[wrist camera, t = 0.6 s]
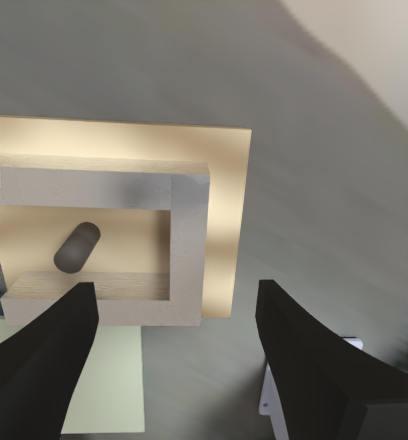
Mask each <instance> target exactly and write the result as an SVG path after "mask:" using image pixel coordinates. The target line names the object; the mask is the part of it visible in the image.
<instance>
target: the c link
mask: <svg viewBox="0 0 408 440" xmlns="http://www.w3.org/2000/svg"><path fill="white" fill-rule="evenodd" d="M209 189H210V172H209V168H208V165H207V162H192V161H169V160H146V159H122V158H99V157H76V156H53V155H30V154H7V153H0V205H25V206H56V207H88V208H119V209H151V210H171V238H170V273H129V272H77V273H73V274H69V273H65V272H62V271H24V273H23V274H22V275H21V276H20V277H19V278H18V279H17V280H16V282H15V283H14V284H13V285H12V286H11V287H10V288H9V289H8V291H7V292H6V293H5V294H4V295H3V296H2V297H1V298H0V301H1V304H2V308H3V312H4V316H5V319H6V323H7V325H27V324H29V323H30V322H31V321H33V320H34V319H35V318H37V317H38V316H39V315H40V314H42V313H43V312H44V311H46V310H47V309H48V308H49V307H50V306H52V305H53V304H54V303H55V302H56V301H58V300H59V299H60V298H61V297H62V296H63V295H65V294H66V293H67V292H68V291H69V290H70V289H72V288H73V287H74V286H75V285H76V284H78V283H79V282H94V287H95V294H96V300H97V307H98V314H99V323H98V326H201V312H202V297H203V281H204V266H205V250H206V235H207V220H208V204H209Z"/></svg>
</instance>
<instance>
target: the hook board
mask: <svg viewBox="0 0 408 440" xmlns="http://www.w3.org/2000/svg"><path fill="white" fill-rule="evenodd" d="M250 139H251V129H249V128H246V127H226V126H207V125H188V124H168V123H149V122H130V121H111V120H91V119H72V118H53V117H33V116H14V115H0V153H7V154H30V155H53V156H76V157H99V158H122V159H146V160H169V161H192V162H207V165H208V168H209V172H210V189H209V204H208V220H207V235H206V250H205V266H204V281H203V297H202V312H201V318H230V314H231V305H232V296H233V288H234V279H235V270H236V261H237V253H238V244H239V235H240V226H241V218H242V209H243V200H244V191H245V183H246V174H247V165H248V156H249V148H250ZM170 238H171V210H151V209H119V208H88V207H56V206H25V205H0V263H1V267H2V271H3V275H4V279H5V283H6V287H7V291H8V289H9V288H10V287H11V286H12V285H13V284H14V283H15V282H16V280H17V279H18V278H19V277H20V276H21V275H22V274H23V273H24V271H62V272H65V273H69V274H73V273H77V272H129V273H170Z"/></svg>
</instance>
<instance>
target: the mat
mask: <svg viewBox="0 0 408 440" xmlns="http://www.w3.org/2000/svg"><path fill="white" fill-rule="evenodd" d="M25 326H26V325H7V323H6V319H5V316H0V343H1V342H3V341H4V340H6V339H7V338H9V337H11V336H12V335H13V334H15V333H16V332H18V331H19V330H21V329H22V328H23V327H25ZM144 431H145V416H144V389H143V362H142V336H141V326H98V327H97V331H96V335H95V339H94V342H93V345H92V348H91V350H90V353H89V355H88V358H87V360H86V363H85V365H84V368H83V370H82V373H81V375H80V378H79V380H78V383H77V385H76V388H75V390H74V393H73V395H72V398H71V401H70V404H69V407H68V411H67V414H66V418H65V421H64V424H63V428H62V431H61V434H66V433H117V432H144Z"/></svg>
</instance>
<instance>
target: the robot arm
mask: <svg viewBox="0 0 408 440" xmlns="http://www.w3.org/2000/svg"><path fill="white" fill-rule="evenodd" d="M255 318H256V323H257V328H258V333H259V337H260V340H261V343H262V346H263V349H264V352H265V355H266V358H267V361H268V362H267V367H266V372H265V377H264V383H263V388H262V393H261V398H260V403H259V413H260V414H261V415H270V418H271V422H272V426H273V430H274V434H275V438H276V440H408V374H407V373H405V372H403V371H400V370H398V369H396V368H394V367H392V366H390V365H388V364H386V363H384V362H382V361H380V360H378V359H376V358H374V357H373V356H371V355H369V354H367V353H365V352H364V351H362V350H361V349H362V346H363V343H362V341H361V340H360V339H357V338H341V337H340V336H338V335H337V334H335V333H334V332H332V331H331V330H330V329H328V328H327V327H326V326H324V325H323V324H322V323H320V322H319V321H318V320H317V319H315V318H314V317H313V316H312V315H310V314H309V313H308V312H307V311H306V310H305V309H304V308H302V307H301V306H300V305H299V304H298V303H297V302H296V301H295V300H294V299H293V298H292V297H291V296H289V295H288V294H287V293H286V292H285V291H284V290H283V289H282V288H281V287H280V286H279V285H278V284H277V283H276V282H275V281H274V280H259V288H258V296H257V305H256V314H255ZM98 323H99V314H98V307H97V300H96V294H95V287H94V282H79V283H78V284H76V285H75V286H74V287H73V288H72V289H70V290H69V291H68V292H67V293H66V294H65V295H63V296H62V297H61V298H60V299H59V300H58V301H56V302H55V303H54V304H53V305H52V306H50V307H49V308H48V309H47V310H46V311H44V312H43V313H42V314H40V315H39V316H38V317H37V318H35V319H34V320H33V321H31V322H30V323H29V324H27V325H26V326H25V327H23V328H22V329H21V330H19V331H18V332H16V333H15V334H13V335H12V336H11V337H9V338H7V339H6V340H4V341H3V342H1V343H0V440H59V439H60V435H61V431H62V428H63V424H64V421H65V418H66V414H67V411H68V407H69V404H70V401H71V398H72V395H73V393H74V390H75V388H76V385H77V383H78V380H79V378H80V375H81V373H82V370H83V368H84V365H85V363H86V360H87V358H88V355H89V353H90V350H91V348H92V345H93V342H94V339H95V335H96V331H97V327H98Z"/></svg>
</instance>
